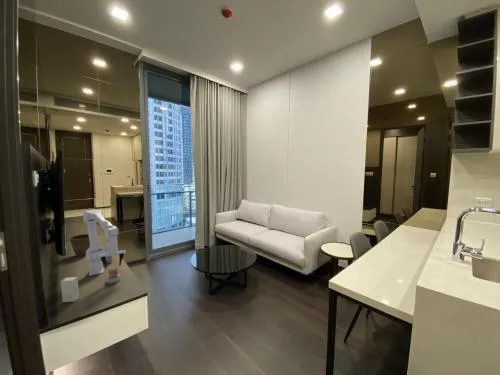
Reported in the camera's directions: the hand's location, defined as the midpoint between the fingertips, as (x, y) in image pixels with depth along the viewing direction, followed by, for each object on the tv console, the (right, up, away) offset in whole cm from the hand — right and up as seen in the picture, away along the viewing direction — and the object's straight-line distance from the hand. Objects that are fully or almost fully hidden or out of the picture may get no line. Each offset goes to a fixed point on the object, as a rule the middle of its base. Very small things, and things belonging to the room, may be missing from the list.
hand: (113, 266), depth 139 cm
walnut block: (0, -7, 0) cm, 7 cm away
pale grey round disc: (0, -10, +1) cm, 10 cm away
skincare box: (-10, -11, -21) cm, 26 cm away
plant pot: (-54, -7, +44) cm, 70 cm away
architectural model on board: (-24, -8, +32) cm, 41 cm away
